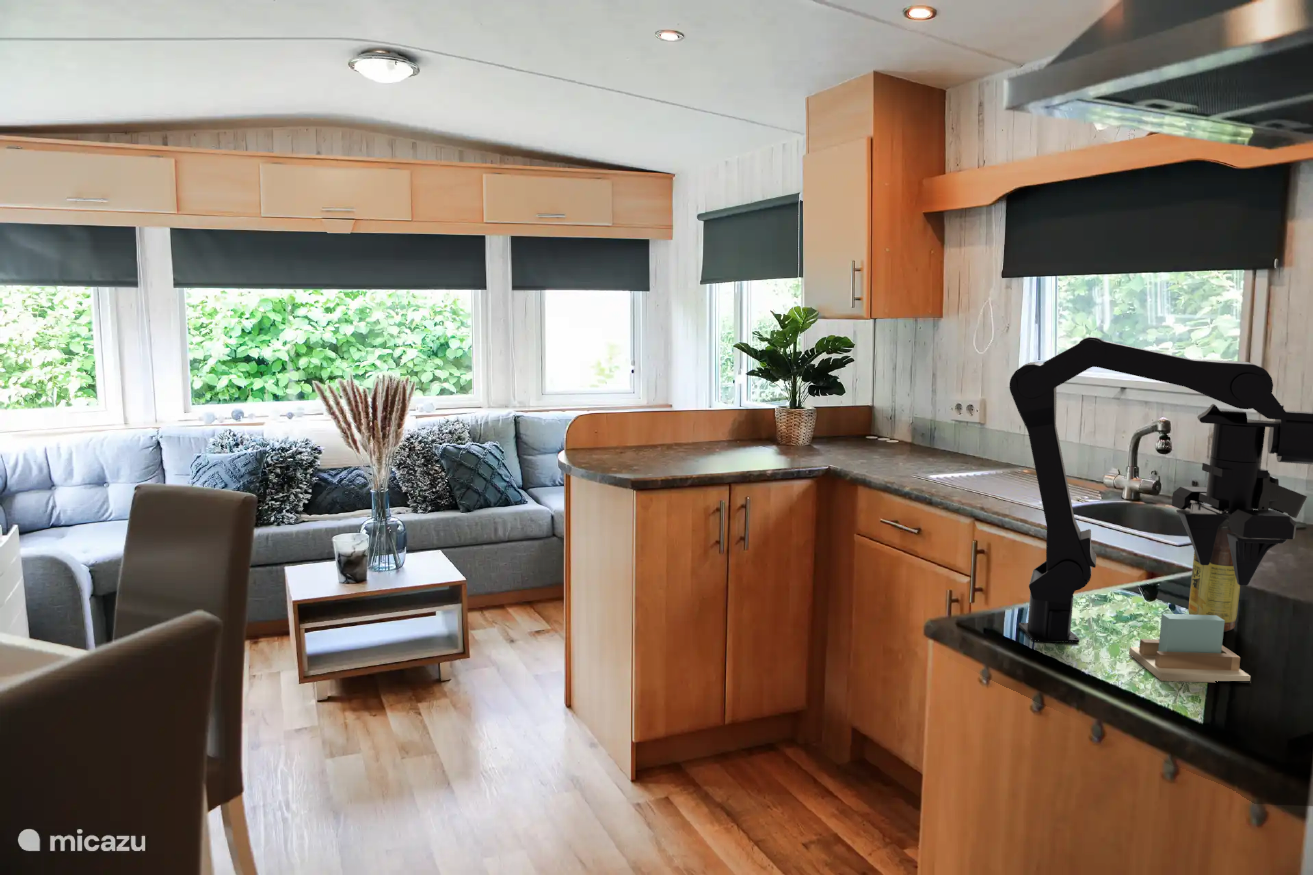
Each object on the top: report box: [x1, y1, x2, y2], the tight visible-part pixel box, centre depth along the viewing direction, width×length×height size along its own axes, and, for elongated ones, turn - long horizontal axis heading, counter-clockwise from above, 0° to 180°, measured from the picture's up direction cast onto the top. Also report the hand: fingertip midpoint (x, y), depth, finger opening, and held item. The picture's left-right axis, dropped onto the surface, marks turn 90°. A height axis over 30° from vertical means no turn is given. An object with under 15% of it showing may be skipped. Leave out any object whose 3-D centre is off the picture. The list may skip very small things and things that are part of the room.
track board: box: [1128, 638, 1251, 683], centre depth 123 cm, size 9×11×3 cm
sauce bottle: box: [1187, 518, 1241, 633], centre depth 138 cm, size 7×6×20 cm
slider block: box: [1158, 613, 1225, 653], centre depth 123 cm, size 2×7×6 cm, turn 87°
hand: (1222, 574), depth 124 cm, fingers open, 9 cm apart
